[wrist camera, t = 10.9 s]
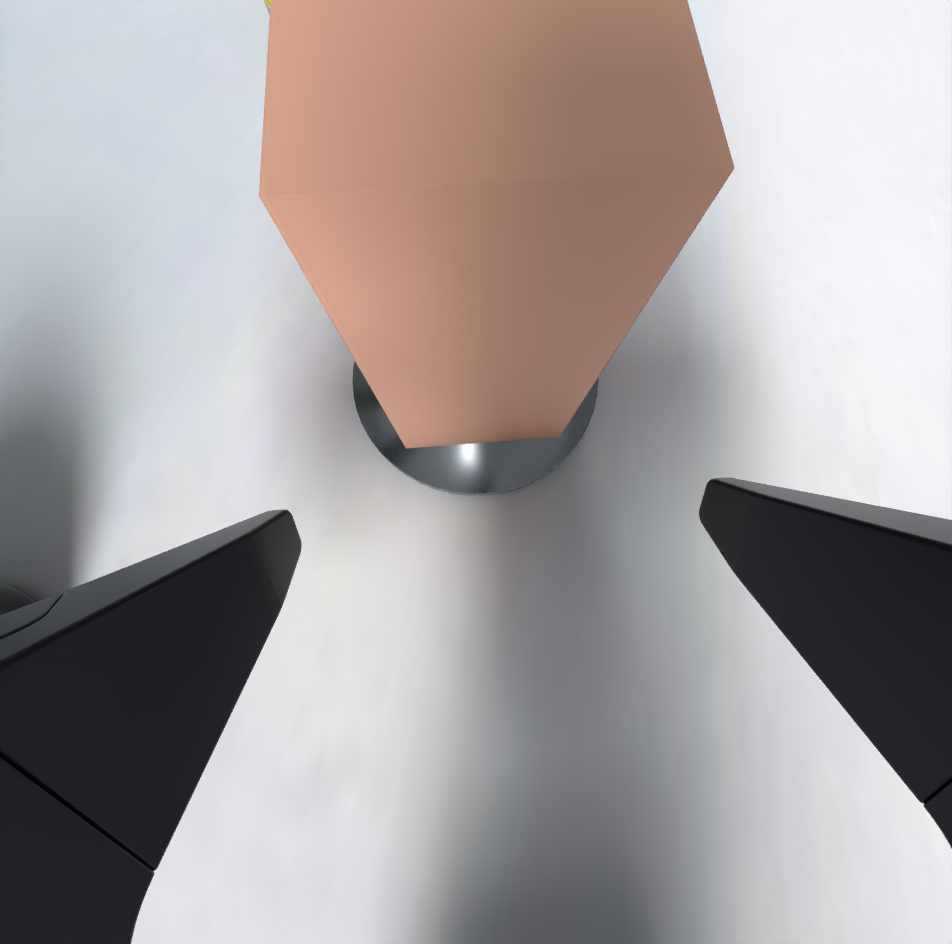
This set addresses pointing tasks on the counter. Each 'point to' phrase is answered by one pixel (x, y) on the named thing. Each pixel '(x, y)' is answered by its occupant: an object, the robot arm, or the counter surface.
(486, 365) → the salmon pink tower
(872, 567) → the robot arm
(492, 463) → the brushed steel disc
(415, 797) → the counter surface
